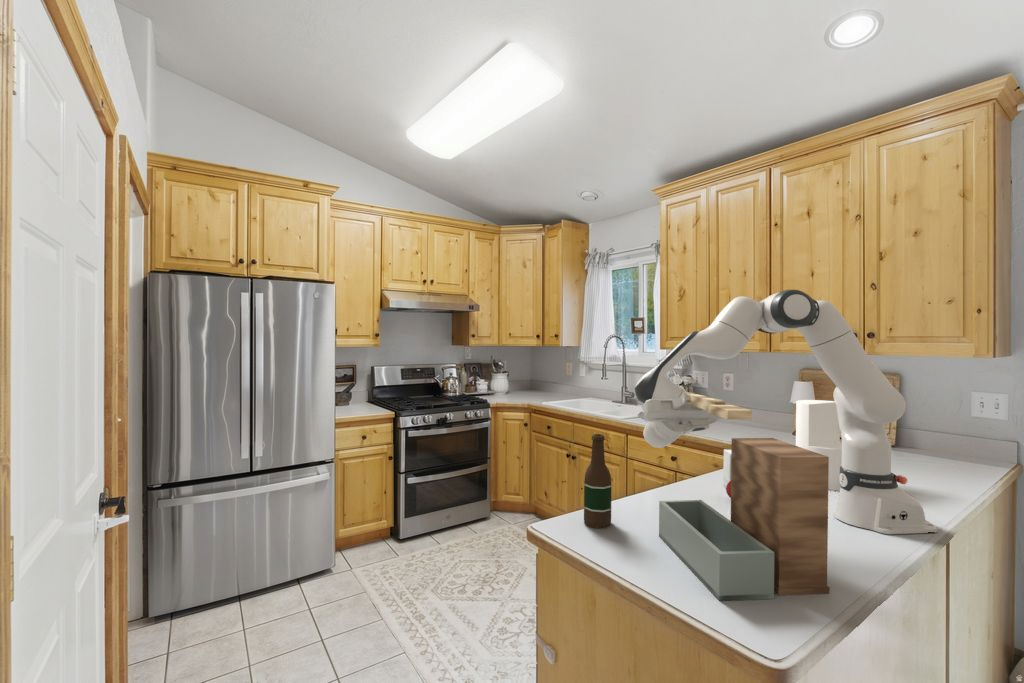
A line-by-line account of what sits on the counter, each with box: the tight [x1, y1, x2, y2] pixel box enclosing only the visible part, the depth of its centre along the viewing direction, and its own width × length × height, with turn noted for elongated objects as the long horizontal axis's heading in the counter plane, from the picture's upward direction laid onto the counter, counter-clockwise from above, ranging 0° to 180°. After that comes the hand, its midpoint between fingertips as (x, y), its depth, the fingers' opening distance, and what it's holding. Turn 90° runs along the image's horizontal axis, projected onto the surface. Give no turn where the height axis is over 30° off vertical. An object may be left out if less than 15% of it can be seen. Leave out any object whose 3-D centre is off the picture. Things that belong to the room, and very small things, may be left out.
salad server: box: [683, 392, 753, 420], centre depth 108 cm, size 24×5×2 cm, turn 4°
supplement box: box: [722, 448, 731, 489], centre depth 160 cm, size 7×7×13 cm
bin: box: [658, 499, 775, 602], centre depth 108 cm, size 30×11×9 cm, turn 5°
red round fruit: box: [725, 481, 731, 499], centre depth 148 cm, size 6×6×8 cm
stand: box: [730, 437, 831, 596], centre depth 104 cm, size 19×11×27 cm, turn 5°
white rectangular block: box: [795, 399, 842, 492], centre depth 168 cm, size 17×17×28 cm
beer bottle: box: [583, 433, 612, 530], centre depth 130 cm, size 8×8×24 cm
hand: (695, 397), depth 116 cm, fingers closed on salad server, 2 cm apart
